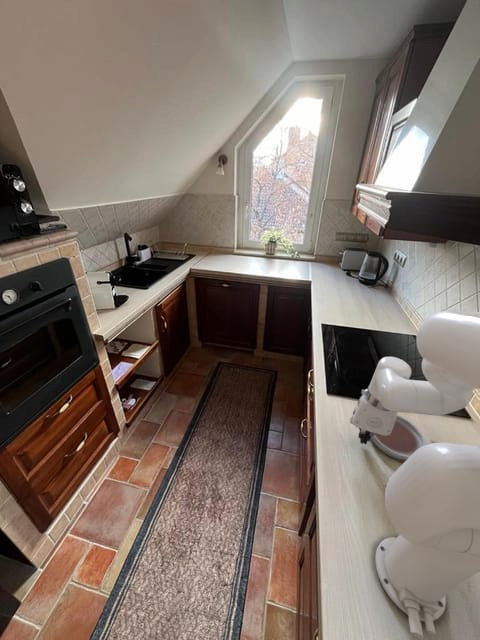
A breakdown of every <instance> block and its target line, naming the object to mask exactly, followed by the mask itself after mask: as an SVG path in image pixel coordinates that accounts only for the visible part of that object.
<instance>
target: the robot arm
mask: <svg viewBox="0 0 480 640" xmlns="http://www.w3.org/2000/svg"><path fill="white" fill-rule="evenodd" d="M415 343H416V348H417V351H418V353H419V354H420V356H421V358H422V361H421V371H422V374H423V376H424V378H425V379H426V380H419V379H418V380H416V379H410V378H411V375H412V368H411V366H410V365H409V364H408V363H407V362H406V361H404V360H403V359H402V358H401V359H400V358H399V357H396V356H383V357H382V358H381V359H380V360H379V361H378V363H377V365H376V367H375V371H374V373H373V375H372V378H371V380H370V383H369V385H368V386H367V388H366V389H361V391H360V394H361V396H360V397H359V399H358V401H357V403H356V405H355V406H354V409H353V411H352V416H351V417H350V418H349V423H350V424H351V425H353V426H354V427H355V428H357V429H359V432H358V434H357V435H358V439H359V442H360V444H364V445H367V444H368V442H370V440H371V437H373V436H374V435H375V434H380V435H385V436H387V435H390V433H391V432H392V429H393V427H394V424H395V421H396V417H397V415H398V414H399V413H406V414H418V415H425V416H446V415H449V414H452V413H456V412H458V411H460V410H462V409H465V408H466V407H467V406H468V405H469V404H470V402H471V401H472V397H473V394H474V391H475V390H476V389H478V390H480V311H468V310H456V309H455V310H454V309H453V310H452V309H447V310H441V311H438V312H435V313H433V314H431V315H429V316H428V317H427V318H426V319H425V320H423V322H422V323H421V325H420V326H419V328H418V330H417V333H416V338H415ZM384 505H385V510H386V511H385V512H386V514H387V517H388V520H389V521H390V523H391V525H392V526H393V528H394V529H395V531H396V532H397V533H398V535H397V537H396V536H392V537H391V536H390V537H386V538H384V539H382V540H381V542H380V543H379V544H378V546H377V548H376V550H375V557H374V563H375V570H376V573H377V576H378V579H379V581H380V583H381V585H382V587H383V589H384V591H385V593H386V594H387V595H388V598H390V600H391V601H392V602H393V603H394V604H395V605H396V607H397V608H398V609H400V610H401V611H402V612H403V613H404V614H406V615H407V616H408V625H409V631H410V635H412V637H415V638H417V639H421V640H423V639H424V638H425V637H424V632H423V627H422V622H424V625H425V630H426V633H427V634H429V635H432V636H436V635H437V631H436V628H435V624H434V621H436V620H438V619H439V618H440V617H441V616H443V613H444V612H445V610H446V605H447V595H450V593H452V592H453V591H454V590H455V589H457V588H458V587H460V586H461V585H462V584H464V583H465V582H467V581H468V580H470V579H471V578H472V577H474V576H475V575H477V574H479V573H480V445H473V444H462V443H453V442H432V443H428V444H426V445H425V446H422V447H420V448H419V449H417V450H416V451H415V452H414V453H413V454H412V455H411V456H410V457H409V458H408V459H407V460H406V461H403V462H402V464H401V465H400V466H399V467H398V468H397V469H396V470H395V471H394V472H393V473H392V474H391V476H390V478H389V479H388V481H387V484H386V487H385V491H384Z"/></svg>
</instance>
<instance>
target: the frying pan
mask: <svg viewBox="0 0 480 640" xmlns="http://www.w3.org/2000/svg"><path fill="white" fill-rule="evenodd" d="M370 440H371V441H372V442H373V444H374V446H376V447H377V448H378V449H379V450H380V451H381V452H383V453H384V454H385V455H387V456H389V457H391V458H393V459H395V460H399V461H403V462H405V461H406V460H407V459H408V458H409V457H410V456H411V455H412V454H413V453H414V452H415V451H416V450H417V449H419V448H420V447H422V446H425V445H427V441H426V439H425V437H424V435H423V433H422V432H421V430H420V429H418V427H417V425H415V424H413V423H412V422H411V421H409V419H406V418H404V417H403V416H401V415H399V414H397V417H396V421H395V424H394V427H393V429H392V432H391V433H390V435H387V436H385V435H380V434H375V435H374V436H373V437H371V438H370Z"/></svg>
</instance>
